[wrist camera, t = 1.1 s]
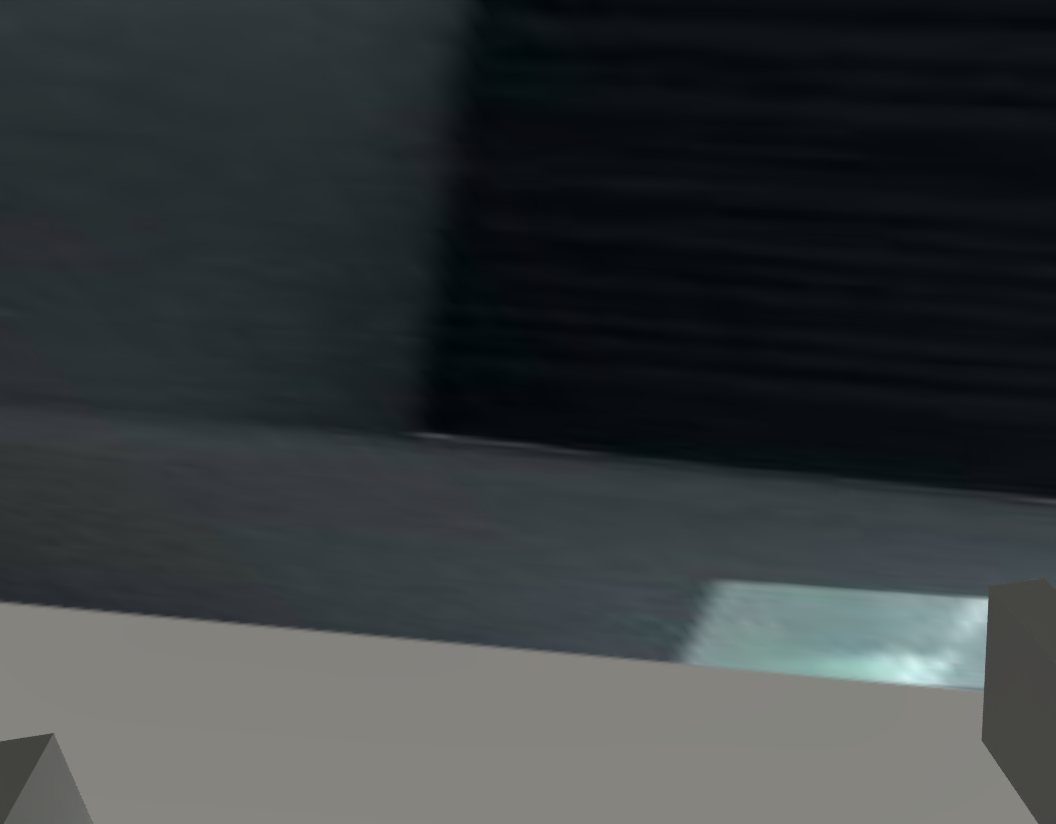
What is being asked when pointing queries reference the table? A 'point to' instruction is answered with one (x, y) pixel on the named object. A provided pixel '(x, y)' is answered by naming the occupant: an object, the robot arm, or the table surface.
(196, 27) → the table surface
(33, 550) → the table surface
